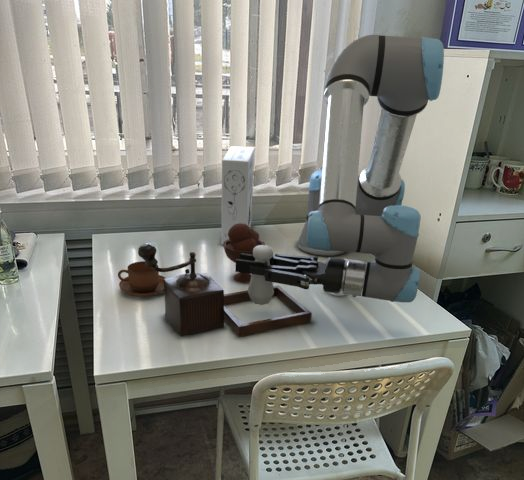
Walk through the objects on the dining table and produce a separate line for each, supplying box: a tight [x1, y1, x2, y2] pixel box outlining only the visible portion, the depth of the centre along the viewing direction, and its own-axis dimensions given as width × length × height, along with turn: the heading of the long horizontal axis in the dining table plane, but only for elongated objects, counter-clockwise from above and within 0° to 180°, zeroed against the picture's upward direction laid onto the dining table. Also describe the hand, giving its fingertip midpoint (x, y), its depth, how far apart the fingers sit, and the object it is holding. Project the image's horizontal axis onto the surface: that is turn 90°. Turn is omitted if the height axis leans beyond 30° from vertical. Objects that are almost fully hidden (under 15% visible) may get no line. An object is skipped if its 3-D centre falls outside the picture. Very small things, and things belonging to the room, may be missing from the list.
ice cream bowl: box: [223, 223, 266, 284], centre depth 133 cm, size 11×11×15 cm
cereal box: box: [220, 145, 255, 246], centre depth 161 cm, size 22×8×25 cm, turn 177°
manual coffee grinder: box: [137, 242, 225, 337], centre depth 110 cm, size 16×11×18 cm
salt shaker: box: [247, 244, 274, 306], centre depth 115 cm, size 6×6×13 cm
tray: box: [224, 285, 313, 338], centre depth 119 cm, size 18×16×2 cm
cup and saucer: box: [117, 260, 167, 297], centre depth 127 cm, size 12×12×6 cm
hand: (238, 262), depth 115 cm, fingers closed on salt shaker, 3 cm apart
